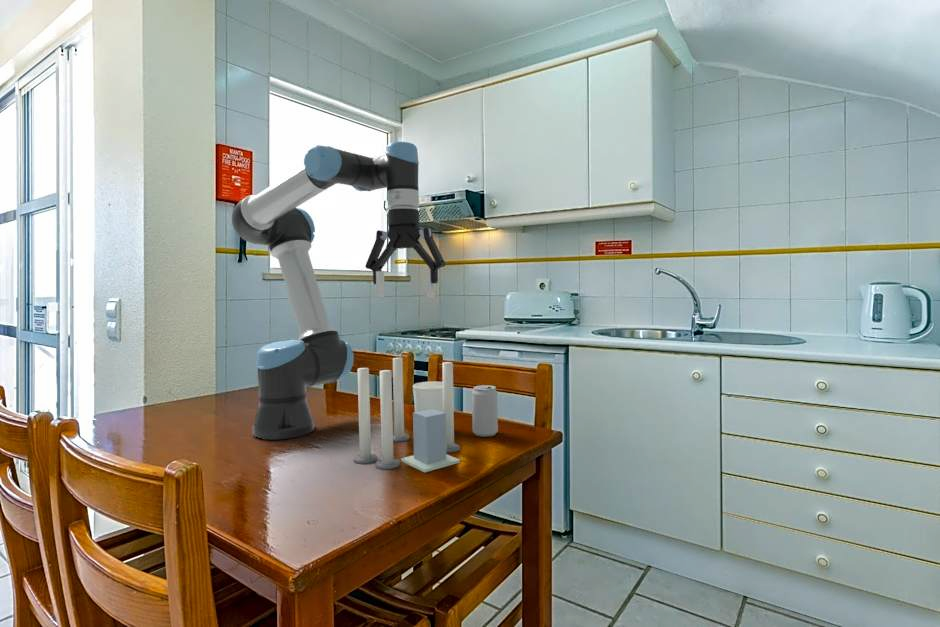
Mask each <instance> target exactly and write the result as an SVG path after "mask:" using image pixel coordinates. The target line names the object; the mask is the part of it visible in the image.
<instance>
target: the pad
mask: <svg viewBox="0 0 940 627" xmlns="http://www.w3.org/2000/svg"><path fill="white" fill-rule="evenodd" d="M446 457H447V459H446V460H442V461H439V462H435V463H432V464H428V465H427V464H424V463H422V462H420V461H418V460H416V459H414V454H413V455H409V456H406V457H402V458H400V462H402V463H404V464H405V465H408V466H410V467H412V468H415V469H417V470H418V471H421V472H422V473H428V472H432V471H434V470H438V469H441V468H445V467H449V466H452V465H455V464H456V465H457V464H460V463H461V462H460V461H461V460H460V459H459V458H457V457H454V456H451V455H449V454H448V453H446Z"/></svg>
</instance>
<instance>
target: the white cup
mask: <svg viewBox="0 0 940 627" xmlns="http://www.w3.org/2000/svg"><path fill="white" fill-rule="evenodd" d="M412 391H413V404H414V412H419V411H424V410H429V409H434V410H438V411H441V412H443V381H435V380H434V381H421V382H415V383H414V384H413V385H412Z"/></svg>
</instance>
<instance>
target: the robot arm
mask: <svg viewBox="0 0 940 627" xmlns="http://www.w3.org/2000/svg"><path fill="white" fill-rule="evenodd" d="M385 148H386V150H385V155H381V156H377V157H376V156H375V157H370V156H369V157H368V156H365V155H361V154H358V153H354V152H349V151H346V150H341V149H340V148H339V149H338V148H335V147H332V146H329V145H328V146H327V145H326V146H325V145H320V144H316V145H312V146H310V147H309V148H308V150H307V153H306V154H304V159H303V164H301V165H299V166H298V167H297V168H295V169H294V170H292V171H291V172H289V173H287V174H286V175H285V176H283V177H282V178H280V179H278V180H277V181H276V182H273V183H272V184H271V185H270V186H268V187H266V188H265V189H264V190H262V191H261V192H259V193H258V194H249V195H248V196H246V197H244V198H243V199H241V200H240V201H239V202H238V203H237V204H236V205H235V206H234V208H233V210H232V213H231V225H232V227H233V229H234V231H235V233H236V234H237V235H238V237H240V238H241V239H242V240H244V241H246V242H247V243H250V244H254V245H262V246H263V245H264V246H268V249H269V252H270V255H271V256H272V257H273V258H275V259H277V260H278V263H279V266H280V269H281V274H282V276H283V280H284V284H285V287H286V291H287V294H288V297H289V302H290V304H291V307H292V312H293V314H294V319H295V321H296V324H297V325H296V326H297V329H298V332H299V337H298V339H287V340H281V341H280V340H279V341H275V342H271V343H268V344H265V345H262V346H261V347H260V349H259V350H258V351H257V355H256V357H257V358H256V368H257V384H258V385H257V387H258V391H257V392H258V406H257V410H256V414H255V417H254V423H253V424H252V436H253V435H254V436H255V437H254V436H253V437H254V438H256V437H258V438H257V439H259V438H262V439H261V440H267V439H268V440H269V441H273V440H287V439H292V438H298V437H302V436H304V435H308V434H310V433H312V432H313V431H314V430H315V420H314V418H313V417H312V412H311V410H310V409H311V408H310V407H309V404H308V400H307V388H309V387H315V386H320V385H324V384H325V385H326V384H333V383H335V382H337V381H341V380H344V379H345V378H347V377H348V376H349V374H350V373H351V371H352V367H353V366H354V359H355V358H354V357H355V356H354V350H353V347H352V346H351V344H350V342H348V341H347V340H345V339H341V338H340V335H339V332H338V330H337V329H336V328H334V327H332V326H331V323H330V321H329V318H328V315H327V310H326V308H325V304H324V300H323V298H322V295H321V291H320V288H319V284H318V281H317V278H316V275H315V271H314V267H313V263H312V261H311V258H310V255H309V251H310V250H311V248H312V243H313V242H314V239H315V234H314V233H316V228H315V223H314V221H313V220H314V219H312V216H311V215H310V214H309V213H308V212H307V211H306V210H304V209H302V208H299V206H301V205H303V204H304V203H306V202H308V201H309V200H311V199H312V198H314V197H315V196H317V195H319V194H321V193H322V192H325V191H326V190H328V189H329V188H331V187H333V186H334V185H336V184H338V185H339V184H340V185H347V186H351V187H353V188H354V189H355V190H356V191H359V192H371V191H375V190H381V189H386V190H387V192H386V193H387V208H388V209H389V210H388V211H387V224H388V230H387V231H384V230H379V229H378V230H377V231H376V235H375V241H374V244H373V246H372V248H371V251H370V254H369V256H368V258H367V261H366V262H365V263H366V264H365V269H368V270H371V271H372V275H373V276H372V278H373V279H372V280H373V281H372V282H373V285H376V286H375V287H376V290H375V291H376V294H375V295H376V299H385V296H386V295H385V271H383V270H382V269H383V268H384V266H385V265H386V264H387V262H388V261H389V259H391V257H392V255H393V253H394V252H395V251H397V250H399V249H400V250H402V249H413V250H414V251H415V252H416V253H417V254H418V255H419V257H420V258H421V259H422V260H423V261H424V263H425V264H426V265H427V267H428V269H427V270H426V287H427V288H426V290H427V291H426V292H427V293H426V294H427V298H429V299H431V298H436V296H435V295H436V294H435V293H436V289H435V288H436V287H435V284H438V282H439V269H441V268H444V267H446V262H445V260H444V258H443V255H442V254H441V252H440V249H439V248H438V245H437V244H436V241H435V239H434V237H433V231H432V229H431V228H428V227H424V228H423V229H420V210H419V208H420V196H419V194H420V193H419V164H420V162H419V156H418V155H419V154H418V148H417V146H416V145H415V144H413V143H411V142H406V141H394V142H393V141H392V142H389V143H388V144H387V145H386V147H385ZM420 237H422V239H424V241H425V243H426V245H427V248H428V250H429V252H430V254H431V256H430V254H429V253H428V251H427V250H426V249H425V248H424V247H423V245H422V242H420V240H419V239H420ZM388 239H389V241H388V242H387V245H386V246H385V248H384V245H385V242H386V240H388ZM383 248H384V250H383ZM382 250H383V252H382ZM381 252H382V253H381ZM432 257H433V258H432Z"/></svg>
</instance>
